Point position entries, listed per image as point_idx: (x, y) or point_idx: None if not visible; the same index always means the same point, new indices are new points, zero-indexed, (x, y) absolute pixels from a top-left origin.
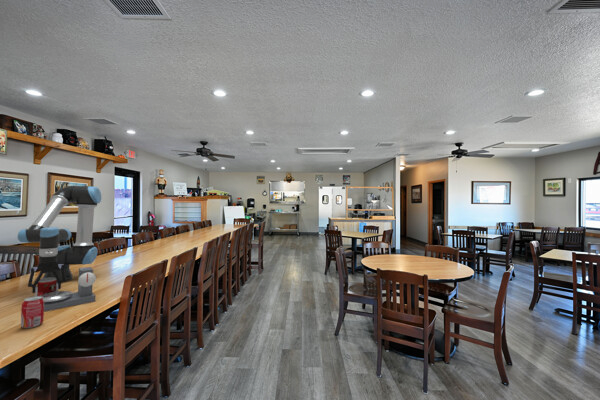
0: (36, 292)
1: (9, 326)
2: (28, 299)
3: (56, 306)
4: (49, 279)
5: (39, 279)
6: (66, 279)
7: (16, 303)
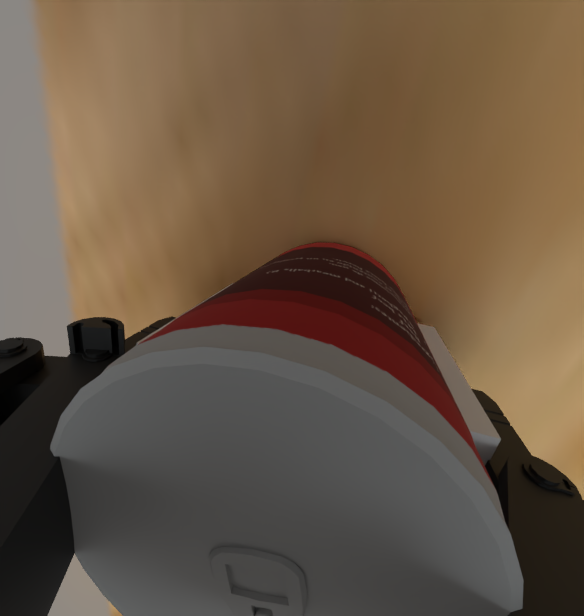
0: None
1: None
2: None
3: None
4: (309, 562)
5: (45, 598)
6: None
7: (123, 244)
